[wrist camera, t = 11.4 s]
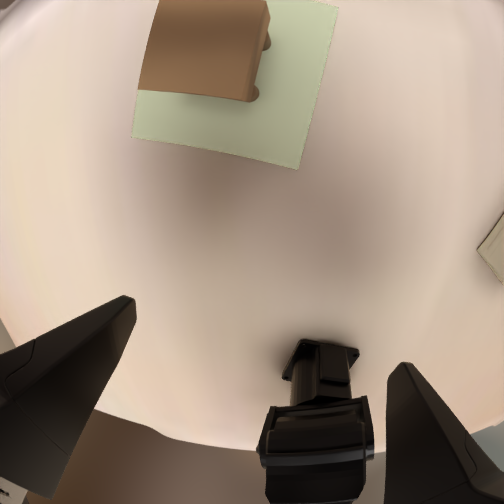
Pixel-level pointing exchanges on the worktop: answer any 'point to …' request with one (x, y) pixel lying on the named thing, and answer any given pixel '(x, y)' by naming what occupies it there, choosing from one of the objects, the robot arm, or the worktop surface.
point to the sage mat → (265, 106)
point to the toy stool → (206, 48)
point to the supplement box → (495, 250)
